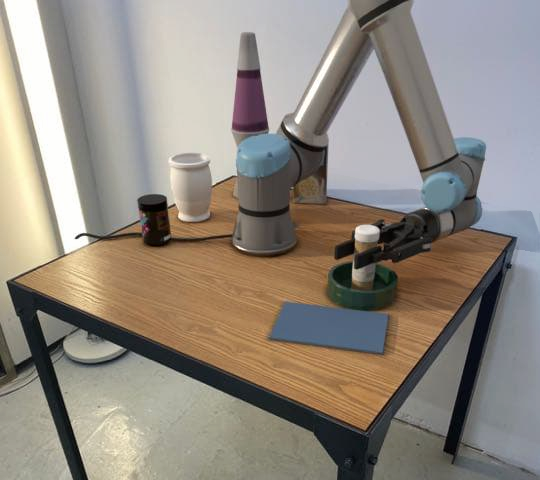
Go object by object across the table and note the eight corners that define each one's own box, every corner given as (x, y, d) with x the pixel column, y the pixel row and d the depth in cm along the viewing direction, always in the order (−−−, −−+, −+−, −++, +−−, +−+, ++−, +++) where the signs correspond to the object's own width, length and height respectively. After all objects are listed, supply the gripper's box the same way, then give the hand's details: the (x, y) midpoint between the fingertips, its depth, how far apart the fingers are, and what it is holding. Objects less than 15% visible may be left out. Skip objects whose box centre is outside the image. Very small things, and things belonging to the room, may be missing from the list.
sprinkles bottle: (366, 284, 116) (372, 222, 108) (376, 295, 113) (384, 231, 105) (345, 288, 115) (351, 225, 107) (356, 299, 111) (362, 234, 104)
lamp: (275, 198, 159) (275, 34, 135) (237, 202, 156) (231, 36, 133) (264, 186, 167) (263, 29, 144) (229, 189, 165) (221, 31, 141)
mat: (268, 339, 101) (268, 337, 100) (285, 303, 111) (285, 301, 111) (382, 354, 97) (382, 352, 96) (388, 316, 107) (388, 313, 107)
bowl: (322, 306, 110) (323, 288, 108) (332, 274, 121) (334, 257, 118) (392, 314, 107) (395, 296, 105) (397, 281, 118) (400, 264, 116)
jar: (211, 224, 143) (207, 164, 135) (171, 224, 144) (164, 164, 135) (216, 209, 152) (212, 151, 143) (177, 209, 152) (171, 151, 143)
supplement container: (153, 234, 139) (147, 192, 133) (177, 238, 137) (172, 196, 130) (137, 245, 134) (131, 202, 127) (162, 249, 131) (157, 206, 125)
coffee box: (327, 196, 159) (330, 137, 150) (325, 205, 154) (328, 144, 145) (294, 195, 161) (296, 136, 151) (291, 203, 155) (292, 142, 146)
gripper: (457, 257, 114) (378, 293, 102) (390, 230, 125) (313, 260, 114) (464, 221, 110) (383, 254, 98) (395, 197, 121) (314, 224, 109)
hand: (345, 257), depth 106 cm, fingers open, 4 cm apart
